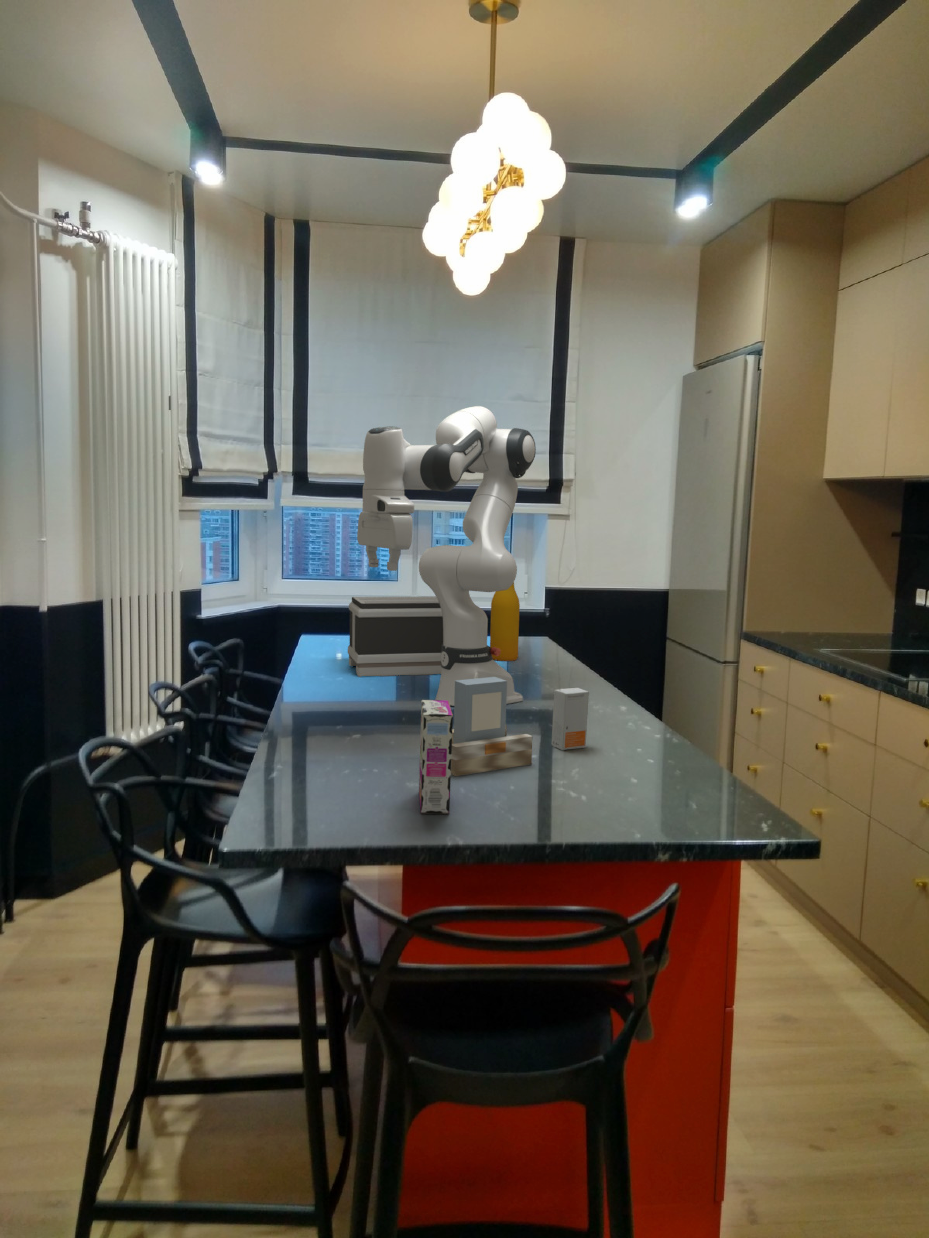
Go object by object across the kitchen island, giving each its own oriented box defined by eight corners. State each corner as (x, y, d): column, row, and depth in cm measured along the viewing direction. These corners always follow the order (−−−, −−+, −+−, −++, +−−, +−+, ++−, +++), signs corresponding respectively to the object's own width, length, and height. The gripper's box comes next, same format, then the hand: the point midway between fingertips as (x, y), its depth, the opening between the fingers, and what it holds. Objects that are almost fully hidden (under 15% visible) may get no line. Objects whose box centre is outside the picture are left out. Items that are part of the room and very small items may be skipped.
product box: (453, 746, 166) (454, 680, 164) (492, 741, 170) (494, 676, 168) (465, 752, 162) (467, 685, 160) (505, 747, 166) (507, 681, 164)
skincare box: (562, 751, 175) (565, 693, 174) (551, 745, 179) (553, 689, 177) (587, 747, 178) (589, 691, 176) (575, 742, 182) (577, 687, 180)
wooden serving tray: (500, 749, 175) (501, 723, 174) (532, 764, 166) (533, 736, 165) (426, 760, 167) (427, 732, 166) (455, 776, 157) (456, 747, 156)
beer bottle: (487, 660, 274) (490, 569, 270) (491, 655, 283) (494, 567, 279) (516, 662, 272) (519, 570, 269) (519, 657, 282) (522, 568, 278)
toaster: (472, 674, 252) (474, 603, 249) (356, 677, 243) (357, 604, 240) (456, 662, 270) (457, 596, 267) (347, 665, 260) (347, 596, 257)
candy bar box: (451, 814, 138) (454, 714, 136) (420, 814, 138) (422, 714, 135) (447, 791, 149) (449, 698, 147) (418, 791, 149) (420, 698, 146)
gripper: (350, 503, 190) (350, 565, 192) (390, 504, 173) (389, 572, 174) (376, 503, 193) (375, 565, 195) (418, 504, 176) (417, 572, 178)
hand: (382, 568), depth 185 cm, fingers open, 8 cm apart
